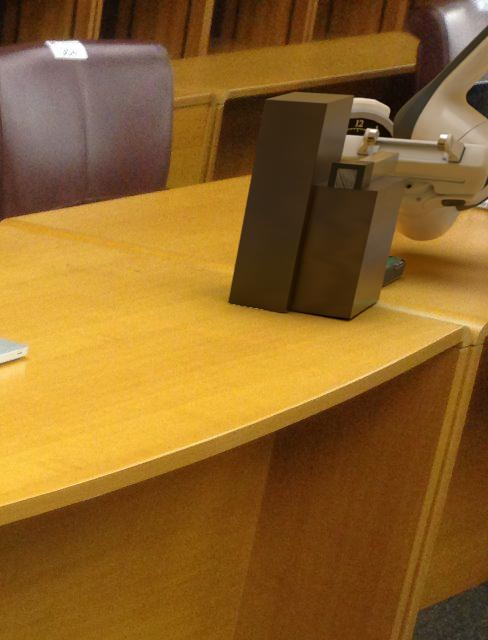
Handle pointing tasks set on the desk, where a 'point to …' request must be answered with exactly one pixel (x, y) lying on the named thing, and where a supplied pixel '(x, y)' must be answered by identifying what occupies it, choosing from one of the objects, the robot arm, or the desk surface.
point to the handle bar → (362, 170)
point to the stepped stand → (311, 216)
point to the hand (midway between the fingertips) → (407, 136)
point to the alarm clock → (369, 118)
